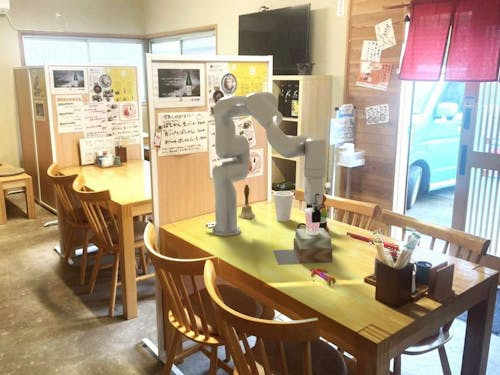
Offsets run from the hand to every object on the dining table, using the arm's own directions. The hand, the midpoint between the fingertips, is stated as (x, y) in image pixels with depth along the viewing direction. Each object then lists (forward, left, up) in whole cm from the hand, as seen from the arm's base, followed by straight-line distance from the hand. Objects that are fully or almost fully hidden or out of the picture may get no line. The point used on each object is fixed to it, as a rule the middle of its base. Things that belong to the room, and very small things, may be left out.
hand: (313, 218), depth 167 cm
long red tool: (+28, +14, -17) cm, 36 cm away
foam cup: (-3, +49, -16) cm, 52 cm away
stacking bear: (+10, +34, -16) cm, 39 cm away
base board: (-4, 0, -16) cm, 17 cm away
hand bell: (-20, +56, -16) cm, 62 cm away
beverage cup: (0, 0, -6) cm, 6 cm away
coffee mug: (+4, +17, -16) cm, 24 cm away
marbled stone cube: (0, 0, -15) cm, 15 cm away
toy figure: (-1, -17, -17) cm, 24 cm away
